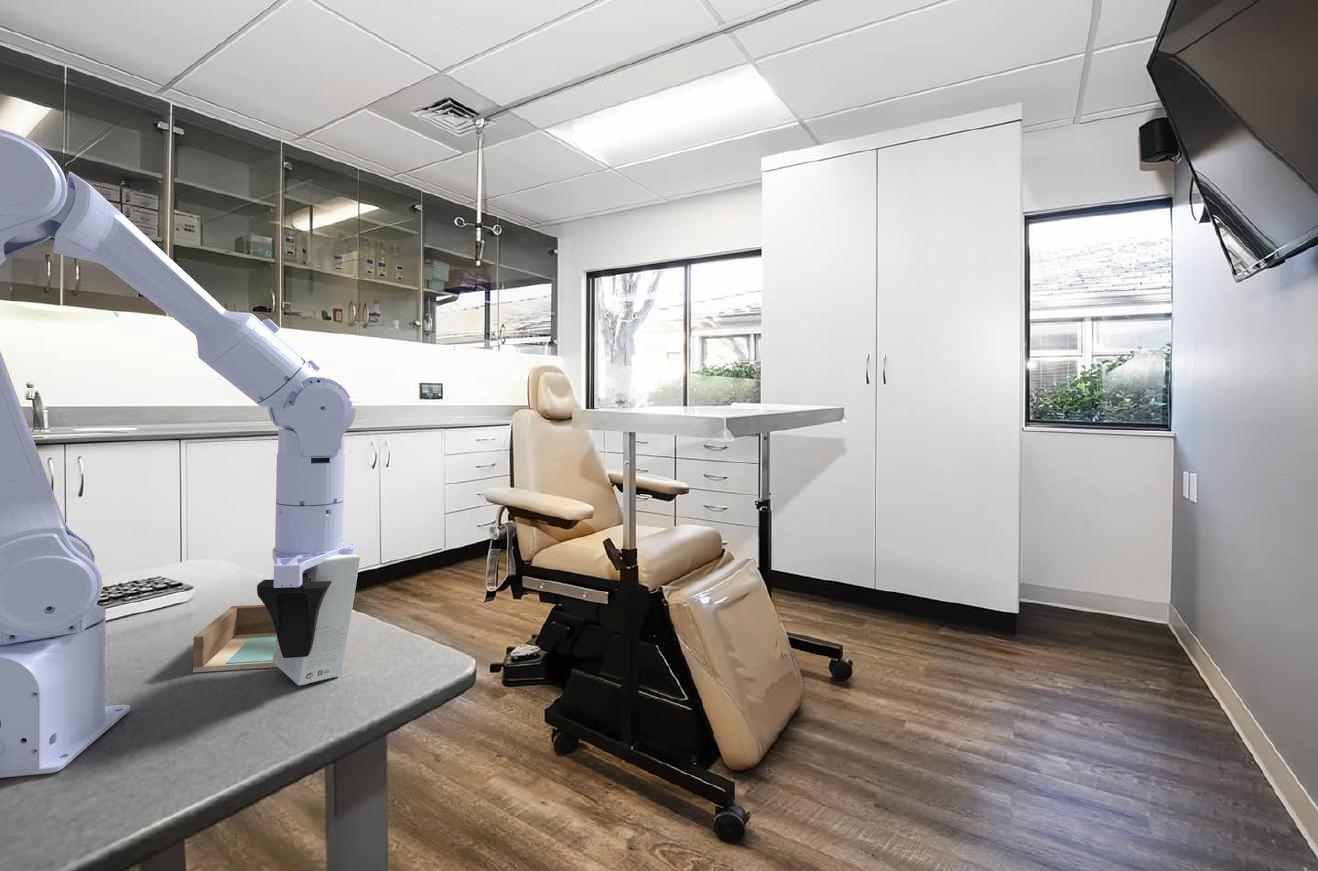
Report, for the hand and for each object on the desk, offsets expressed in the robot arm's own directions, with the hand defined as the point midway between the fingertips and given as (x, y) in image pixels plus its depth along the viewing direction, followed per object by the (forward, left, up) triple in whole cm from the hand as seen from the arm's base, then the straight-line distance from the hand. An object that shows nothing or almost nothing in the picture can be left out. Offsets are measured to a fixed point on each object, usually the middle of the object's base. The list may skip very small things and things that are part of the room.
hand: (307, 640), depth 60 cm
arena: (+7, +5, -3) cm, 9 cm away
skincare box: (0, 0, -3) cm, 3 cm away
